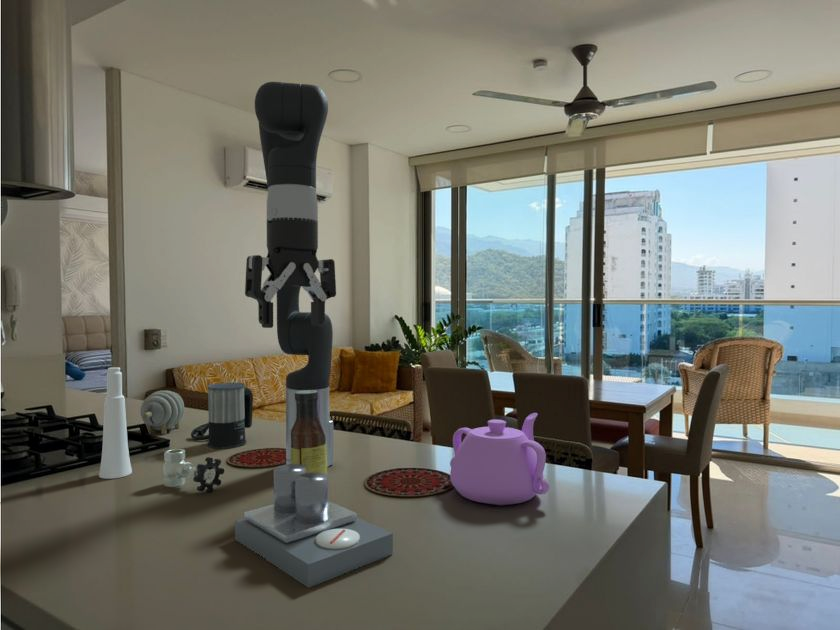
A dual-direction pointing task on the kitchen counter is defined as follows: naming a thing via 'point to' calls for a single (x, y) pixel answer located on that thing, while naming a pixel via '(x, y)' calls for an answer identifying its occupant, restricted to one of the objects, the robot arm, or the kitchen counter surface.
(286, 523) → the pan
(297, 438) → the sauce bottle
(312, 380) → the robot arm
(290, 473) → the cylinder
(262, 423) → the kitchen counter surface
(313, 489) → the cylinder
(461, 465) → the teapot
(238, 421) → the milk frother
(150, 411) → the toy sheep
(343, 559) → the scale
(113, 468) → the cosmetic bottle
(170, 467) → the valve
